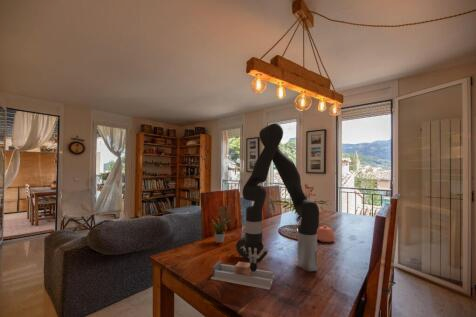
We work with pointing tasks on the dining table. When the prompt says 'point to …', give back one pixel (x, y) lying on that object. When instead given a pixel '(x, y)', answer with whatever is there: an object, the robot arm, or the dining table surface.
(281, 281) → the dining table surface
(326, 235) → the sugar bowl
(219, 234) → the house plant
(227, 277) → the chute
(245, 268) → the block
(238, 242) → the alarm clock
